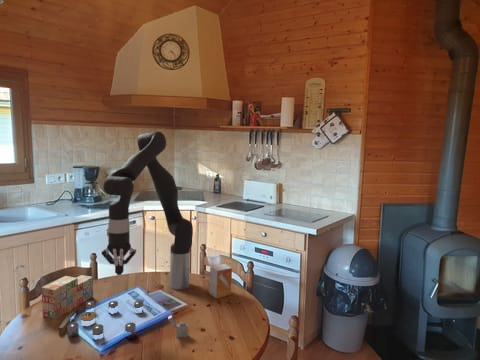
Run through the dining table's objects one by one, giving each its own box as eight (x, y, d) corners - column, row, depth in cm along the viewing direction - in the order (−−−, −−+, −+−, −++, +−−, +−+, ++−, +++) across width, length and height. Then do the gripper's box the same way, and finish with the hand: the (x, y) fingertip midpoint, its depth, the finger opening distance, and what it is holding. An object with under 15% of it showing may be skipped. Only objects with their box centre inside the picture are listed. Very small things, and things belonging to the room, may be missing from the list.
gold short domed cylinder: (96, 320, 144) (96, 311, 143) (93, 326, 139) (92, 317, 138) (83, 320, 143) (83, 311, 143) (79, 326, 138) (79, 317, 138)
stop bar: (77, 313, 148) (77, 307, 147) (63, 334, 133) (63, 327, 132) (73, 313, 147) (73, 307, 147) (58, 334, 133) (58, 327, 132)
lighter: (187, 334, 136) (188, 314, 135) (187, 337, 134) (188, 316, 133) (167, 335, 135) (168, 314, 134) (167, 338, 133) (168, 317, 132)
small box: (216, 298, 166) (217, 271, 164) (208, 293, 171) (209, 266, 169) (231, 294, 171) (232, 267, 169) (223, 289, 176) (224, 263, 174)
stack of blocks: (81, 294, 165) (81, 268, 163) (93, 297, 163) (93, 270, 161) (42, 316, 145) (41, 286, 143) (55, 319, 143) (54, 289, 141)
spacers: (143, 309, 153) (143, 300, 153) (134, 339, 131) (134, 329, 131) (84, 310, 151) (84, 300, 150) (64, 340, 129) (64, 330, 128)
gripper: (138, 227, 143) (138, 270, 145) (103, 227, 141) (103, 270, 143) (135, 232, 135) (135, 278, 138) (97, 232, 134) (98, 278, 136)
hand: (119, 274), depth 141 cm, fingers closed
